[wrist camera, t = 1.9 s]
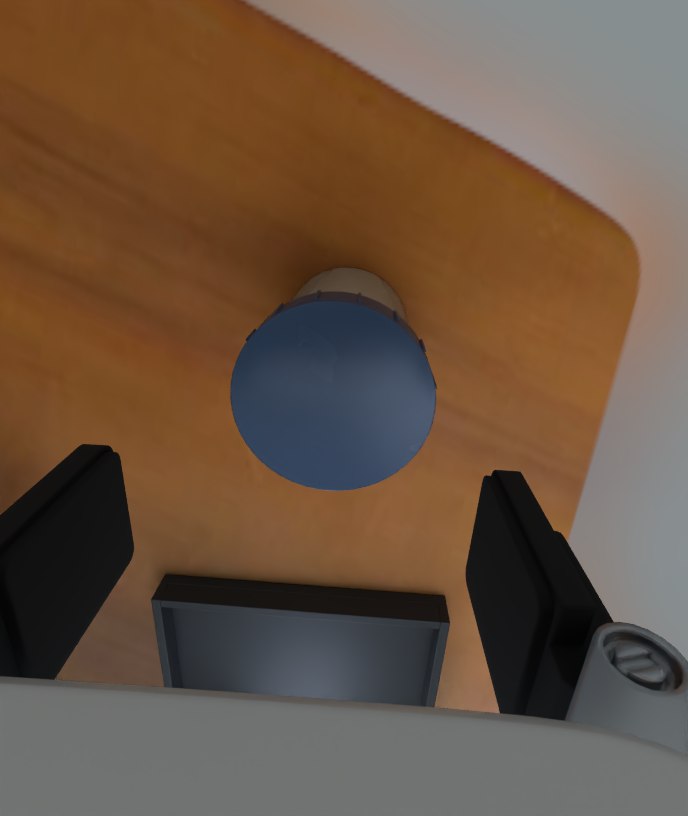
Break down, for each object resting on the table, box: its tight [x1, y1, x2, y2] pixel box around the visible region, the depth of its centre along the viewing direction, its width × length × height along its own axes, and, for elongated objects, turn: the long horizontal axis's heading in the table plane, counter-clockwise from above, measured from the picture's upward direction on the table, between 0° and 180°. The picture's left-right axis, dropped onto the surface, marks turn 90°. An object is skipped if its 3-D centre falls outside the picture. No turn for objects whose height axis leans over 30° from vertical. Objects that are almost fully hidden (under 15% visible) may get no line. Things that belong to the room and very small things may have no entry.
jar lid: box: [231, 290, 437, 491], centre depth 17 cm, size 7×7×2 cm
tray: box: [151, 575, 450, 707], centre depth 35 cm, size 19×14×2 cm
